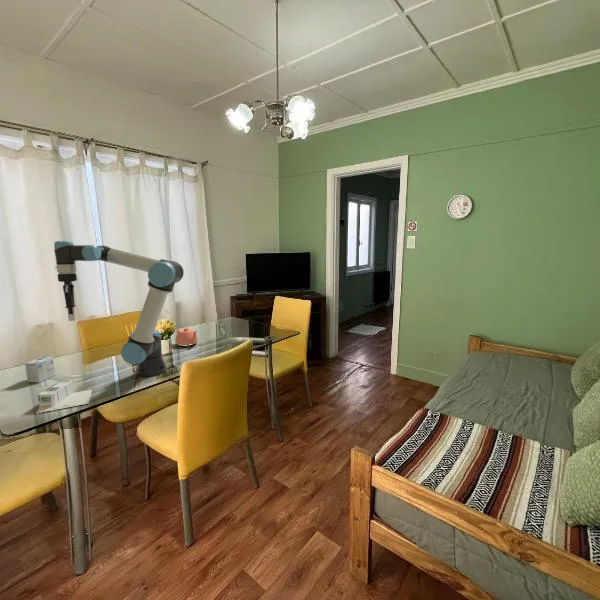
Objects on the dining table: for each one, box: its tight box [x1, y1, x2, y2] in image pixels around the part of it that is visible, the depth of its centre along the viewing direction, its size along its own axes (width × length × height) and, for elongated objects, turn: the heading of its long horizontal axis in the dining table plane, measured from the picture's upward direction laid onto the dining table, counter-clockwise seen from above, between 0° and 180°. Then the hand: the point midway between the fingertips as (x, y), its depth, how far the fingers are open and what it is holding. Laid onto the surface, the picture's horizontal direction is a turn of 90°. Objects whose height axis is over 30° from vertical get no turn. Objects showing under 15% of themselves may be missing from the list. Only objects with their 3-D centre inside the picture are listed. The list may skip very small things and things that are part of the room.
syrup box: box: [37, 380, 74, 408], centre depth 144 cm, size 6×6×14 cm
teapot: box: [174, 327, 199, 345], centre depth 230 cm, size 22×15×12 cm
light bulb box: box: [24, 356, 56, 384], centre depth 169 cm, size 11×7×11 cm, turn 178°
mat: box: [35, 389, 93, 415], centre depth 144 cm, size 18×16×1 cm
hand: (72, 320), depth 161 cm, fingers closed
